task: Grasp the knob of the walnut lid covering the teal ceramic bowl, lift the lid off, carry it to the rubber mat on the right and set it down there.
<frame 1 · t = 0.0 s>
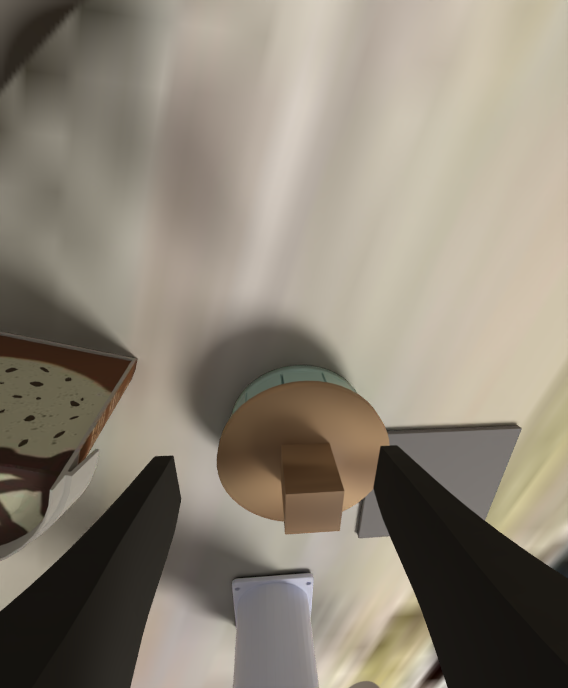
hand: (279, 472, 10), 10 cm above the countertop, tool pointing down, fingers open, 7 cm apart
food container: (61, 382, 20), on the countertop
bowl: (297, 424, 22), on the countertop
mat: (431, 483, 26), on the countertop
lid: (303, 453, 19), point 3 cm above the countertop, touching bowl
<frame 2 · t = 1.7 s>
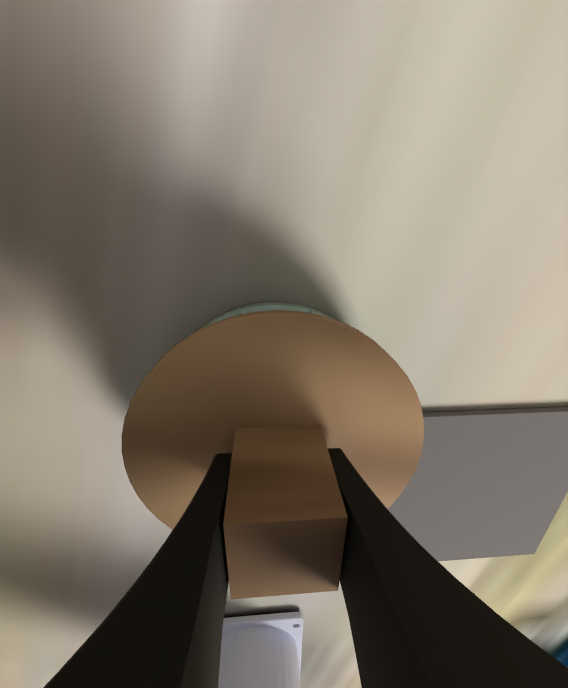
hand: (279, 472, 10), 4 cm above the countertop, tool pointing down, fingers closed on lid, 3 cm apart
bowl: (274, 401, 14), on the countertop
mat: (470, 491, 18), on the countertop
lid: (277, 444, 12), point 3 cm above the countertop, touching bowl, gripper
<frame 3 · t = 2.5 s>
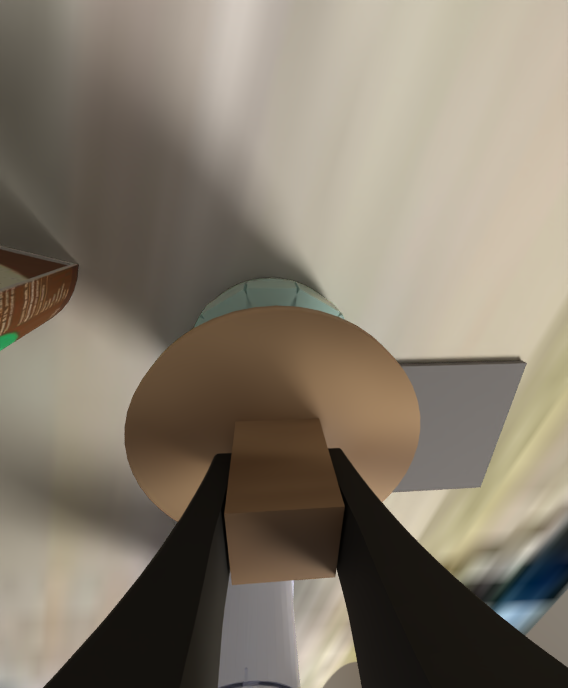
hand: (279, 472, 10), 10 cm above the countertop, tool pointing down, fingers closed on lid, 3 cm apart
bowl: (270, 353, 19), on the countertop
mat: (424, 431, 23), on the countertop
lid: (276, 437, 12), point 8 cm above the countertop, touching gripper
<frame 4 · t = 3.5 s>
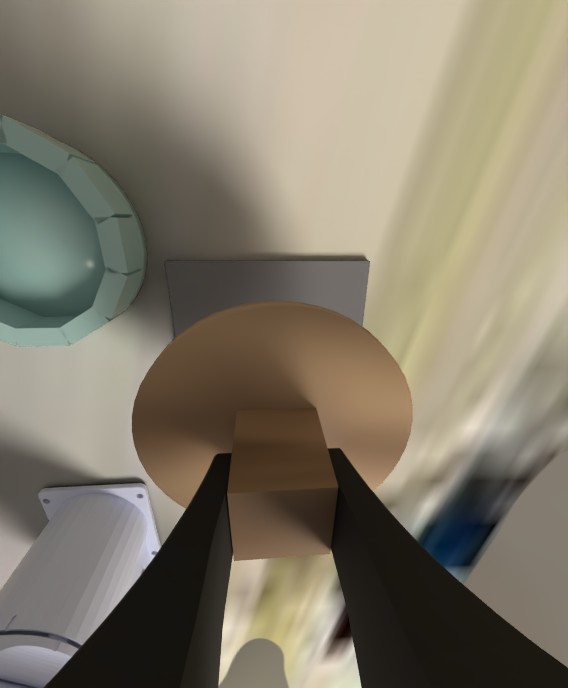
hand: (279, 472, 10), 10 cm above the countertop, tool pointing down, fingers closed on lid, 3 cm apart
bowl: (52, 241, 16), on the countertop
mat: (270, 352, 20), on the countertop
lid: (276, 426, 12), point 8 cm above the countertop, touching gripper
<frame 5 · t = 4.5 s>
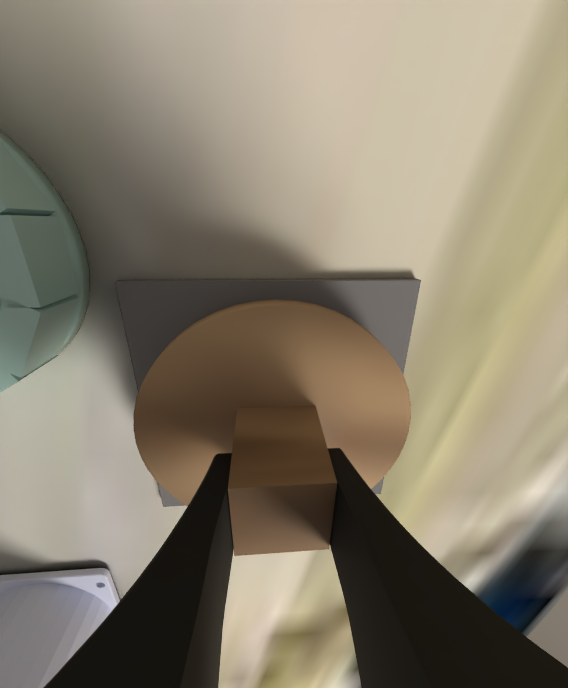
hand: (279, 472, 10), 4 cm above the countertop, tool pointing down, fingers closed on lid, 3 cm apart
mat: (273, 404, 14), on the countertop
lid: (275, 424, 12), point 2 cm above the countertop, touching gripper
when the fingers open (3 cm above the countertop, at t = 5.1 s): lid stays where it is, resting on mat.
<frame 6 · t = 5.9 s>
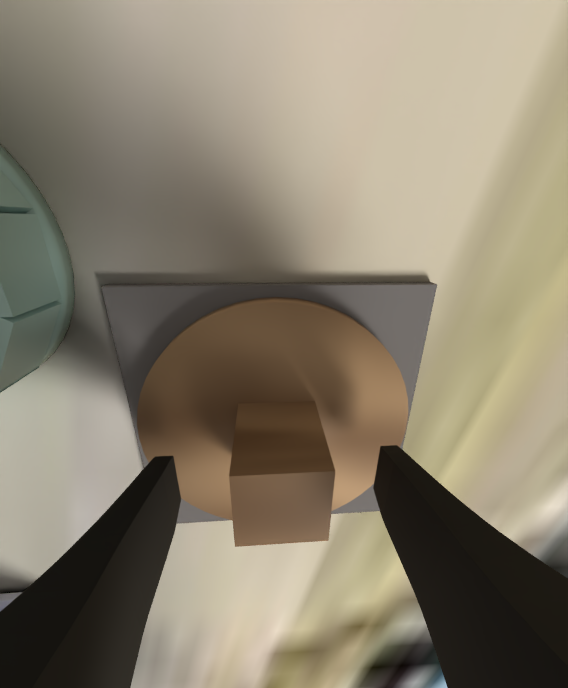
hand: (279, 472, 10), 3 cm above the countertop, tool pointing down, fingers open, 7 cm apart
mat: (275, 417, 13), on the countertop
lid: (276, 420, 13), resting on mat
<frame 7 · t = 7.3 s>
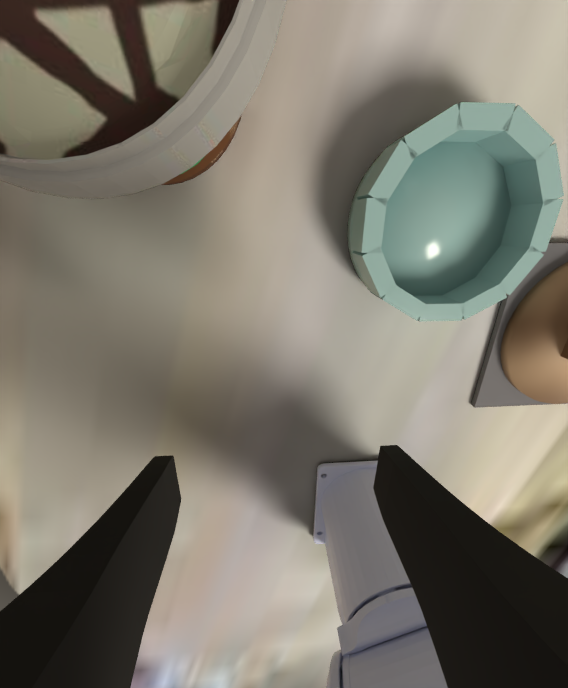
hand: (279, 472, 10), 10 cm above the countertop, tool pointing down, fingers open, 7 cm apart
food container: (143, 141, 15), on the countertop
bowl: (429, 225, 17), on the countertop
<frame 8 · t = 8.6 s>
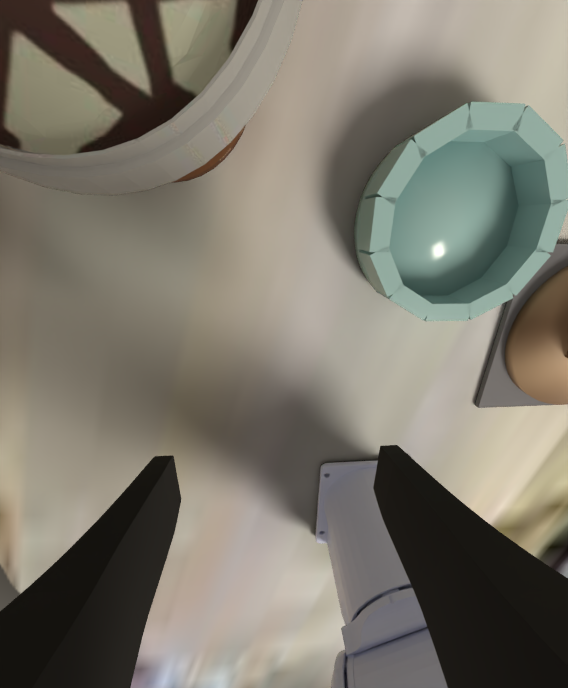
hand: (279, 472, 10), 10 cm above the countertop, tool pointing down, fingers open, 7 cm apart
food container: (151, 139, 15), on the countertop
bowl: (436, 225, 17), on the countertop
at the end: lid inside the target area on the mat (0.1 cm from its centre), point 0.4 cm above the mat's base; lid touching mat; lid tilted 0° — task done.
